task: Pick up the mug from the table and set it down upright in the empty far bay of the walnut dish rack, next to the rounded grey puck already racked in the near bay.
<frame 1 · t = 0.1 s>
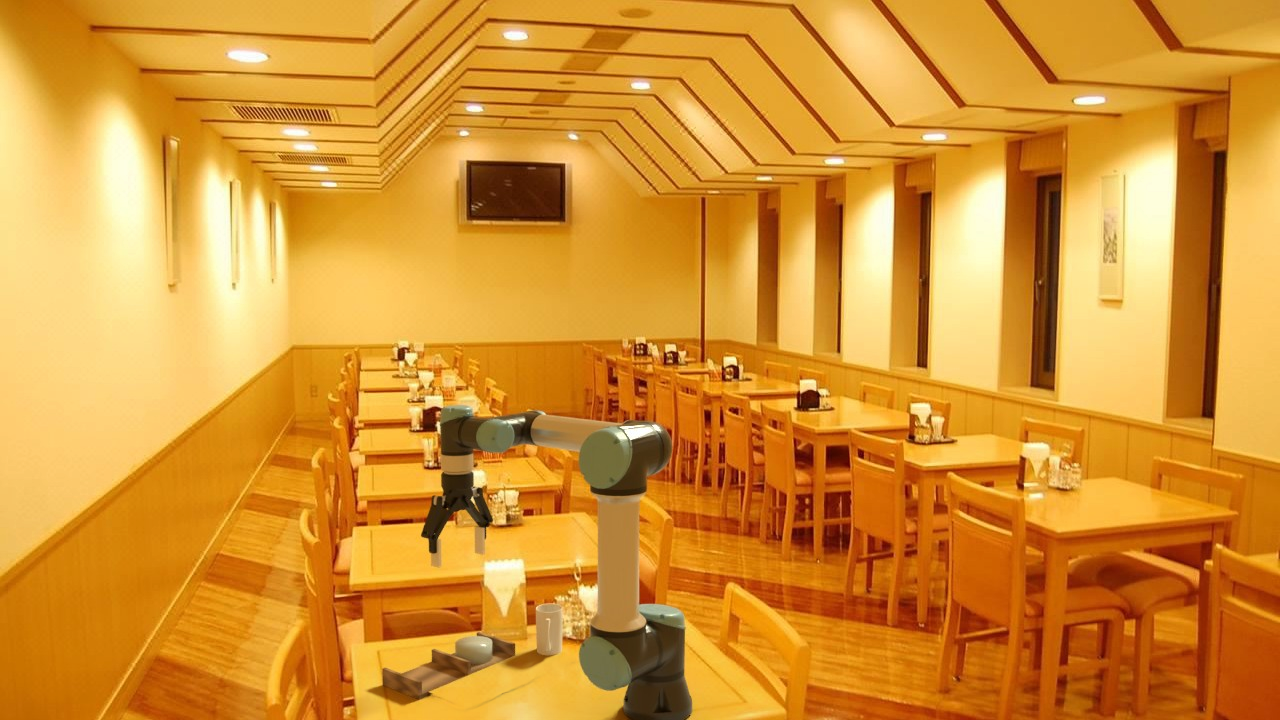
hand: (458, 559, 240), 28 cm above the table, fingers open, 13 cm apart
mug: (548, 657, 253), on the table
cup: (619, 644, 263), on the table
rack: (451, 671, 244), on the table
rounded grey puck: (473, 658, 249), point 1 cm above the table, touching rack
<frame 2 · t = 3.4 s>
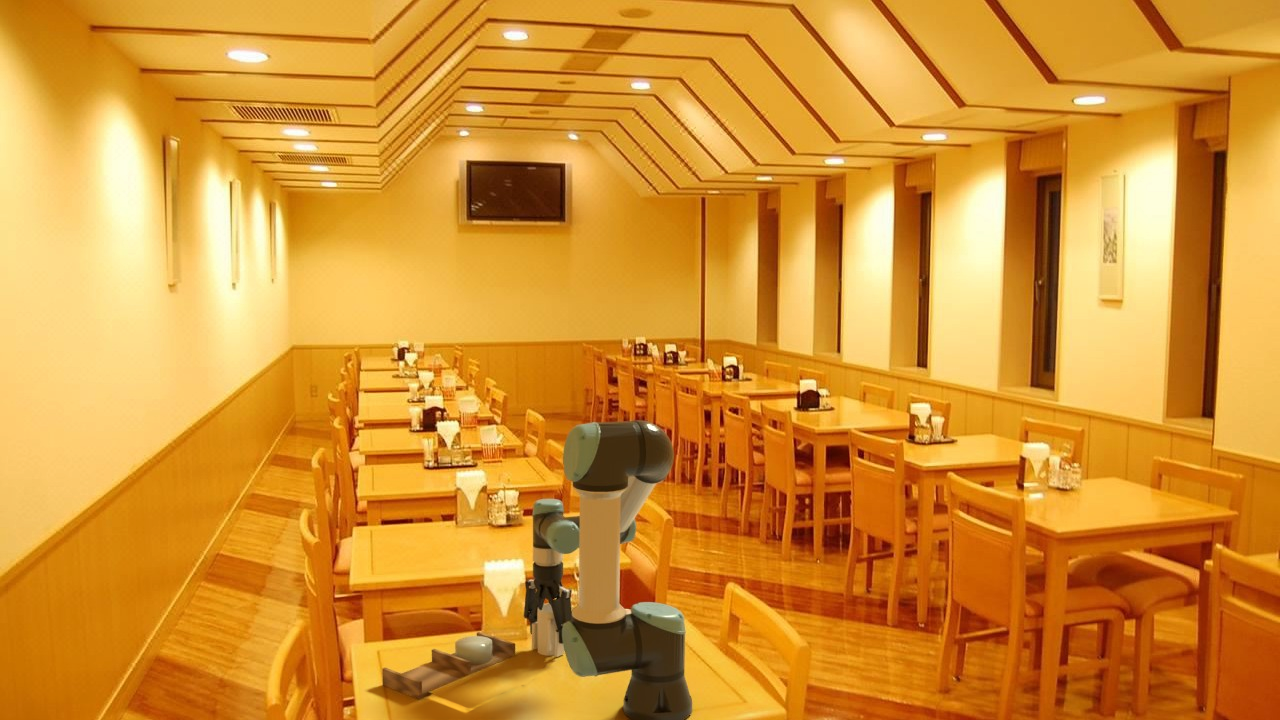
hand: (548, 650, 254), 1 cm above the table, fingers closed on mug, 7 cm apart
mug: (549, 657, 253), on the table, touching gripper
everything else where it was.
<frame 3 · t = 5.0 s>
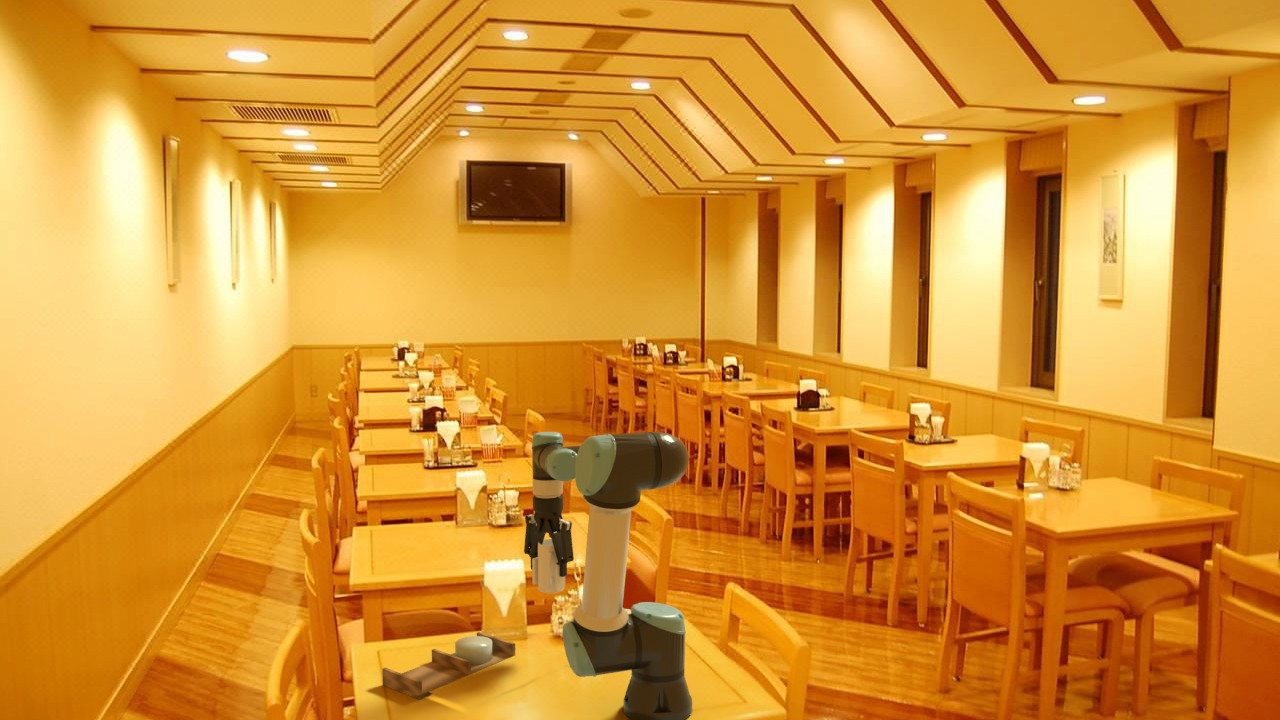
hand: (548, 585, 252), 18 cm above the table, fingers closed on mug, 7 cm apart
mug: (550, 592, 251), point 17 cm above the table, touching gripper
everything else where it was.
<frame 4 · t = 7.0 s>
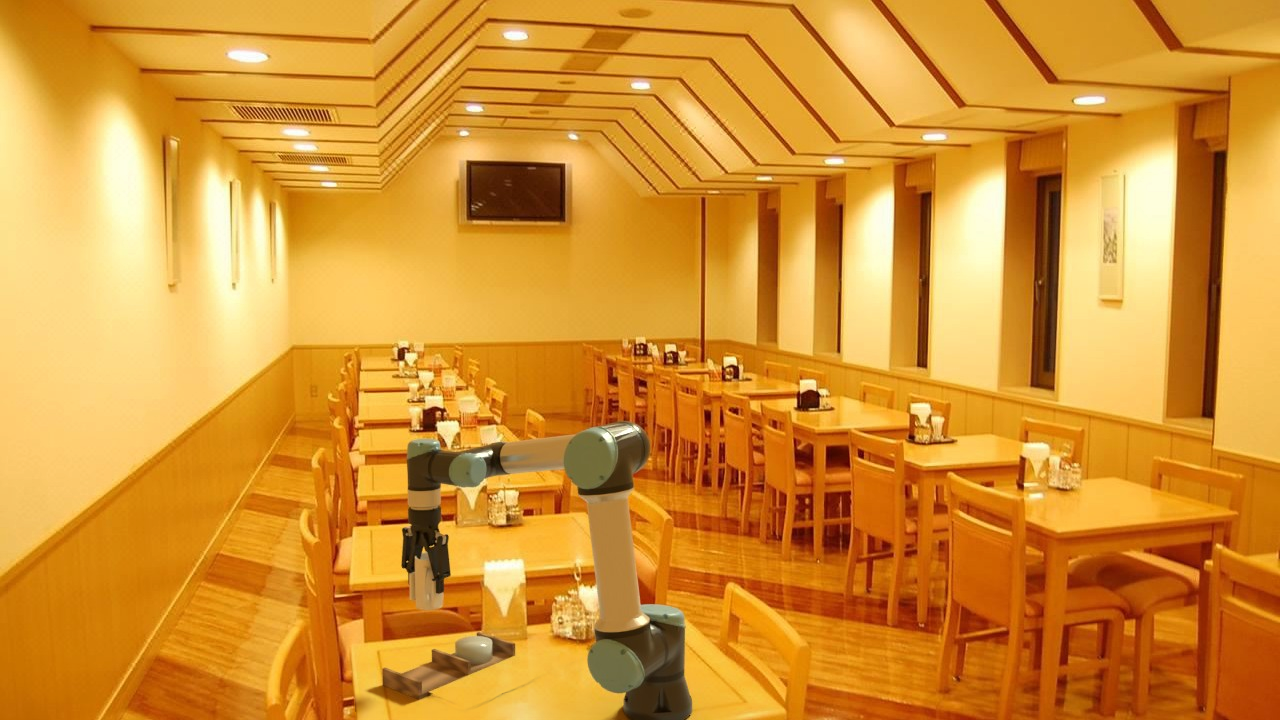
hand: (426, 602, 236), 19 cm above the table, fingers closed on mug, 7 cm apart
mug: (427, 609, 236), point 18 cm above the table, touching gripper
everything else where it was.
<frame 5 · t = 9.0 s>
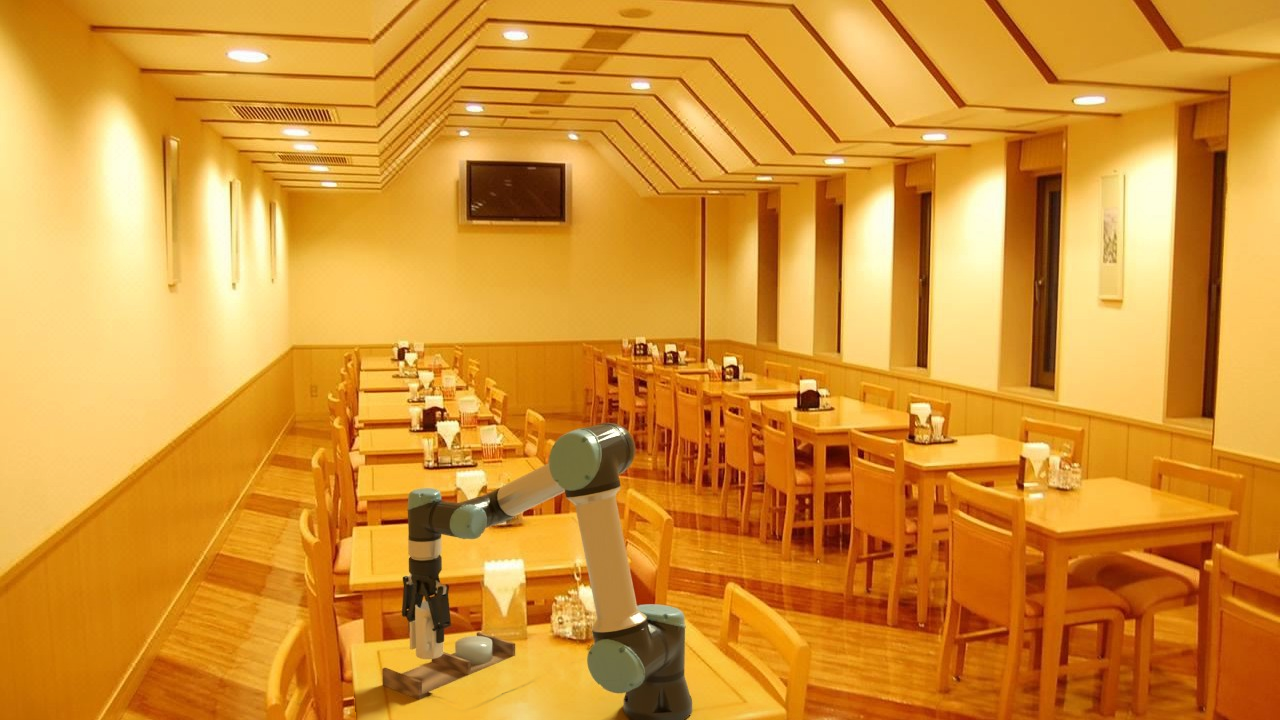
hand: (426, 651, 237), 7 cm above the table, fingers closed on mug, 7 cm apart
mug: (428, 658, 237), point 6 cm above the table, touching gripper
everything else where it was.
when the fingers open (3 cm above the table, at t = 10.6 s): mug drops 1 cm, resting on rack.
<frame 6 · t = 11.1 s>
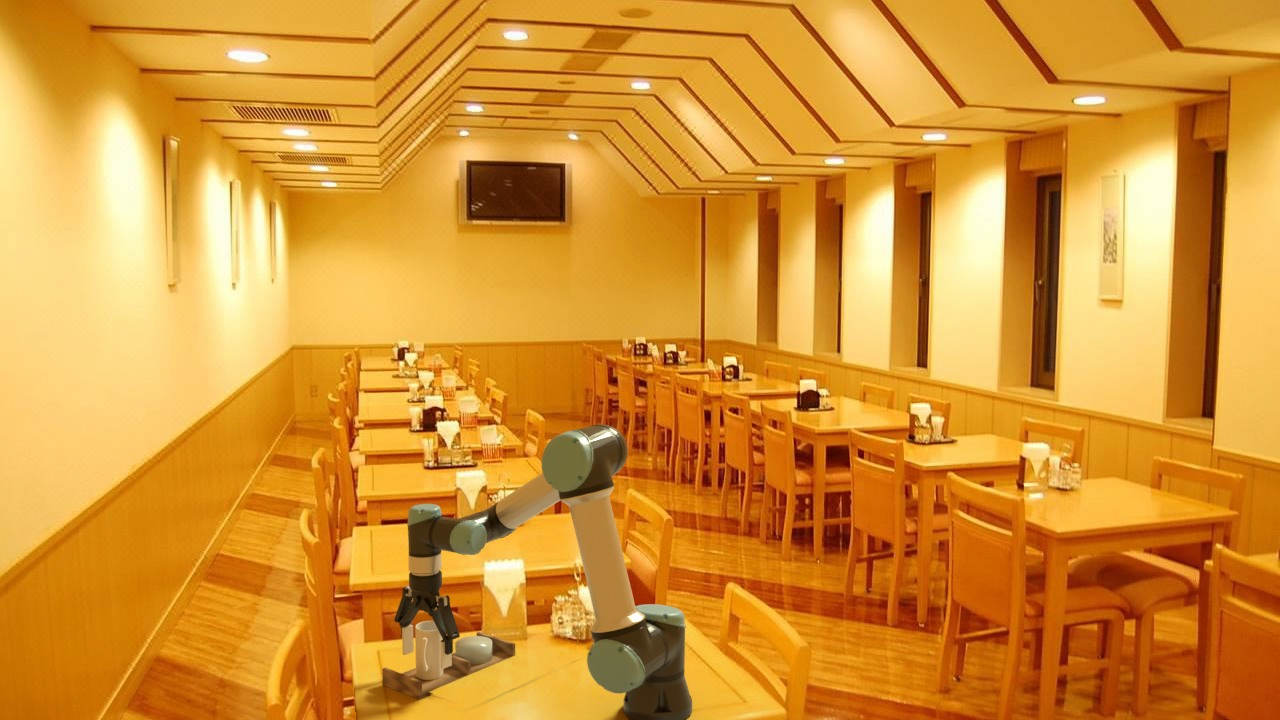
hand: (426, 660, 237), 5 cm above the table, fingers open, 13 cm apart
mug: (427, 678, 237), point 1 cm above the table, touching rack
everything else where it was.
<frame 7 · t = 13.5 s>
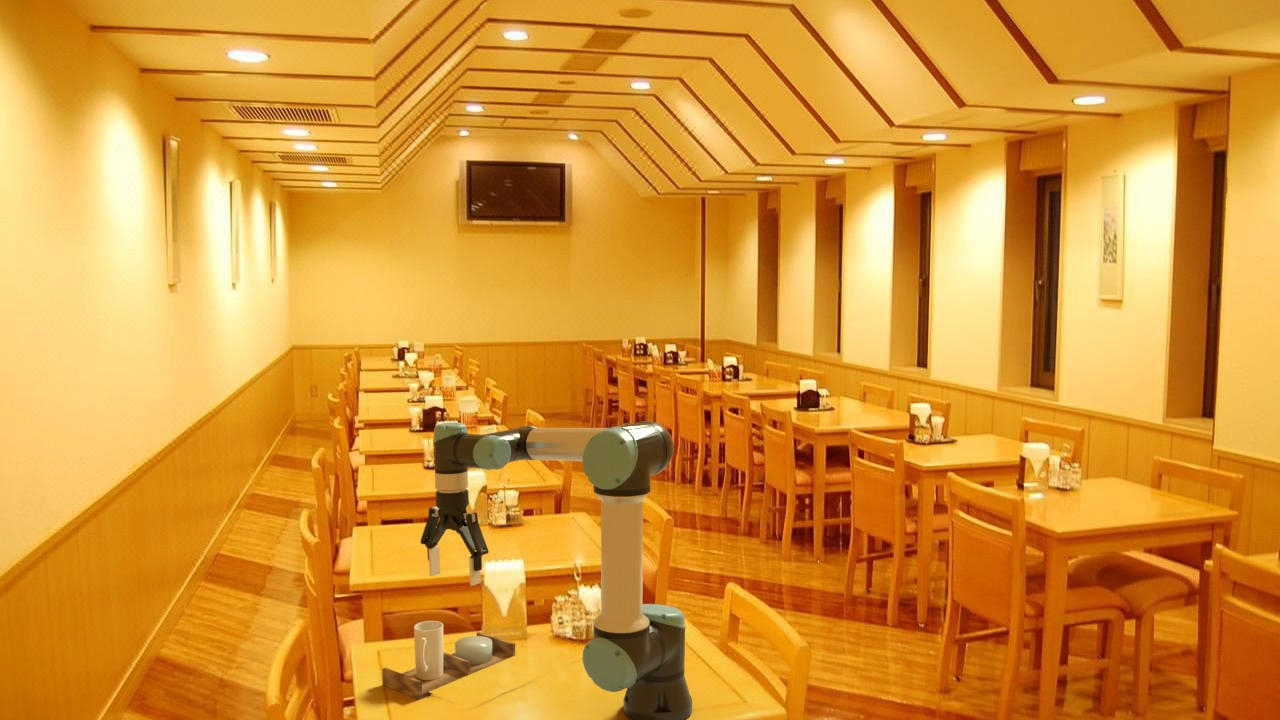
hand: (454, 579, 237), 24 cm above the table, fingers open, 13 cm apart
nothing on the table moved.
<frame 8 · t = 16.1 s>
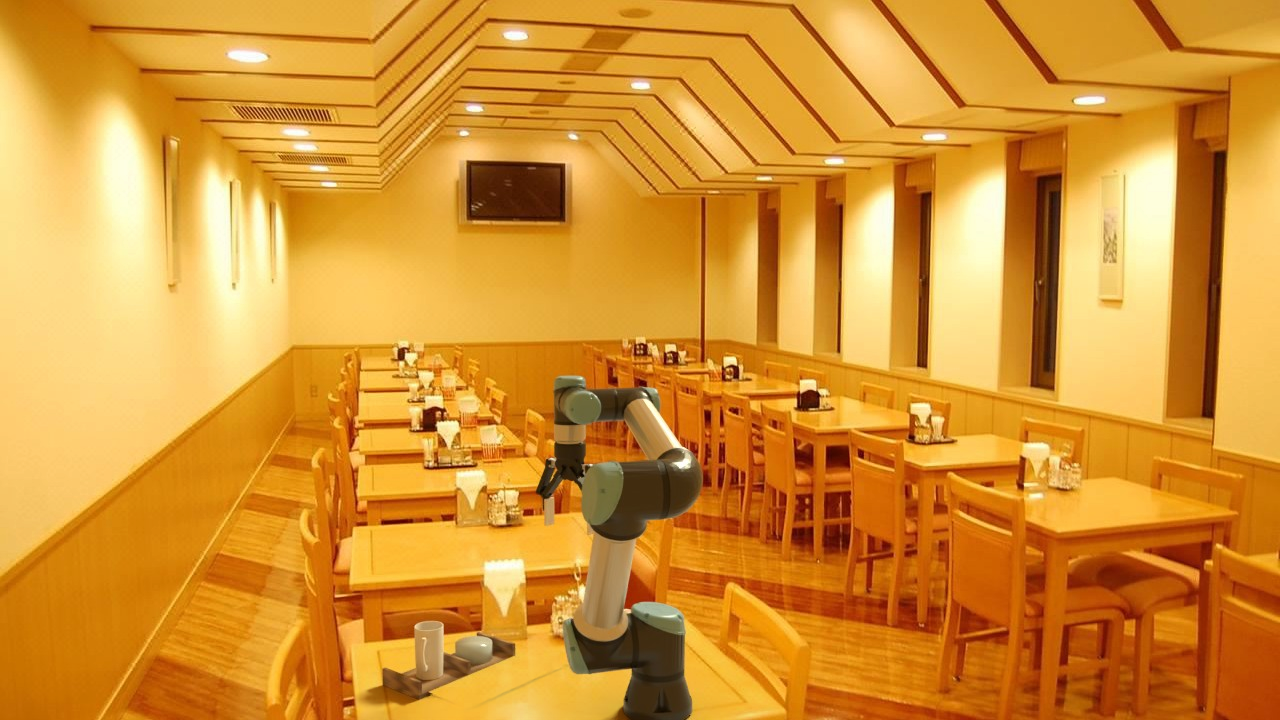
hand: (570, 529, 242), 35 cm above the table, fingers open, 13 cm apart
nothing on the table moved.
at the end: mug inside the target area on the rack (0.5 cm from its centre), point 0.8 cm above the rack's base; mug tilted 0°; the gripper is holding nothing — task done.
